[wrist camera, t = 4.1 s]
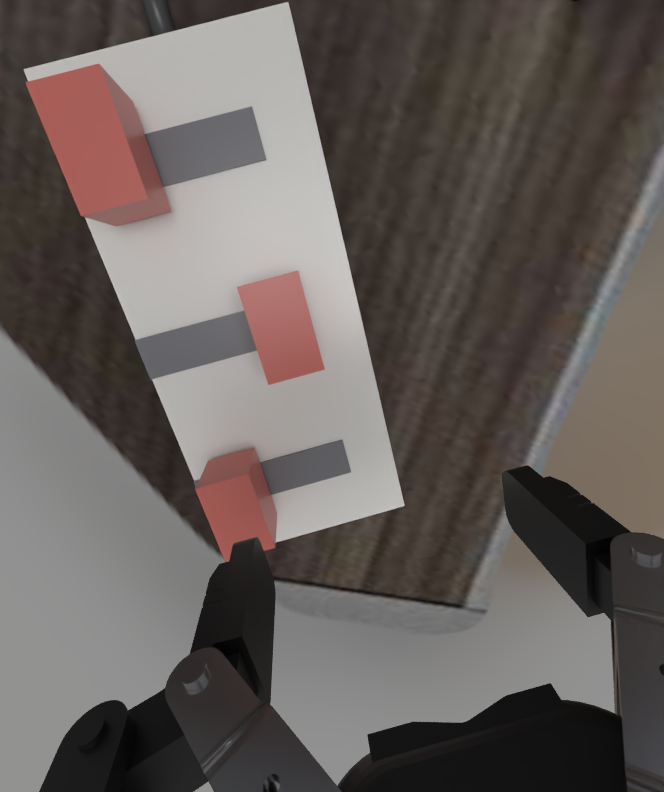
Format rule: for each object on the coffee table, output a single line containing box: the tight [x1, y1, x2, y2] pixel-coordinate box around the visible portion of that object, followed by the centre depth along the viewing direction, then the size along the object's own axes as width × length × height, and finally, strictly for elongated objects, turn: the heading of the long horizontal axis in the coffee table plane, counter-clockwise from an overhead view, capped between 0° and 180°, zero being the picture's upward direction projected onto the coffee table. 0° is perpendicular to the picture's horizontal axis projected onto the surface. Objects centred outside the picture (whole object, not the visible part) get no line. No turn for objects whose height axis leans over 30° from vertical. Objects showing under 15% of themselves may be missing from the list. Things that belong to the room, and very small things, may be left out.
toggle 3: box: [237, 271, 325, 385], centre depth 21 cm, size 5×3×4 cm, turn 15°
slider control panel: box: [23, 0, 404, 542], centre depth 24 cm, size 35×13×5 cm, turn 15°
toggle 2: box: [195, 448, 277, 562], centre depth 24 cm, size 5×3×4 cm, turn 15°
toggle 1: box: [25, 64, 171, 226], centre depth 18 cm, size 5×3×4 cm, turn 15°
